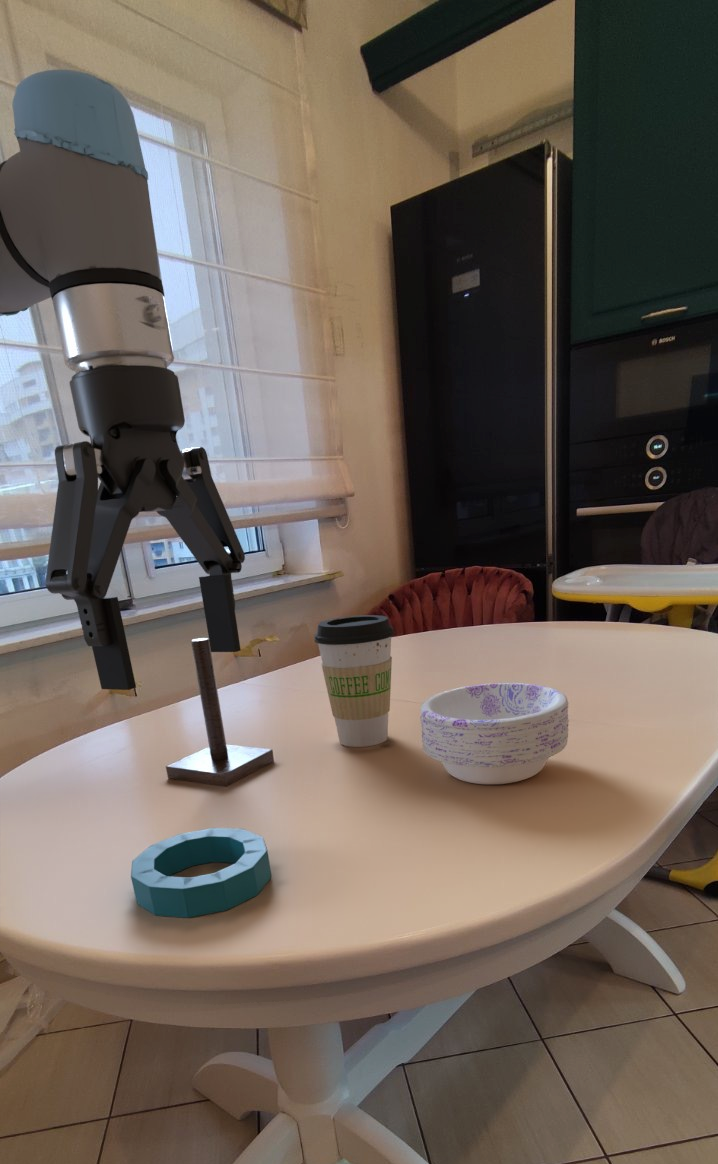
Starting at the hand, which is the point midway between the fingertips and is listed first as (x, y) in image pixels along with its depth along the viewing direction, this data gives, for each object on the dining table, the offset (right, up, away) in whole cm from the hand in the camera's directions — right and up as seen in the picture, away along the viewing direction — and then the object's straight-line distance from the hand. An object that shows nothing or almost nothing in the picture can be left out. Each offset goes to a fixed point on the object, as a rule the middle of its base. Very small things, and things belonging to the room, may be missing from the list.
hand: (177, 668), depth 59 cm
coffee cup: (+15, -3, +34) cm, 37 cm away
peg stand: (-2, -7, +28) cm, 28 cm away
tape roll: (+2, -18, +1) cm, 18 cm away
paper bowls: (+30, -8, +19) cm, 36 cm away
